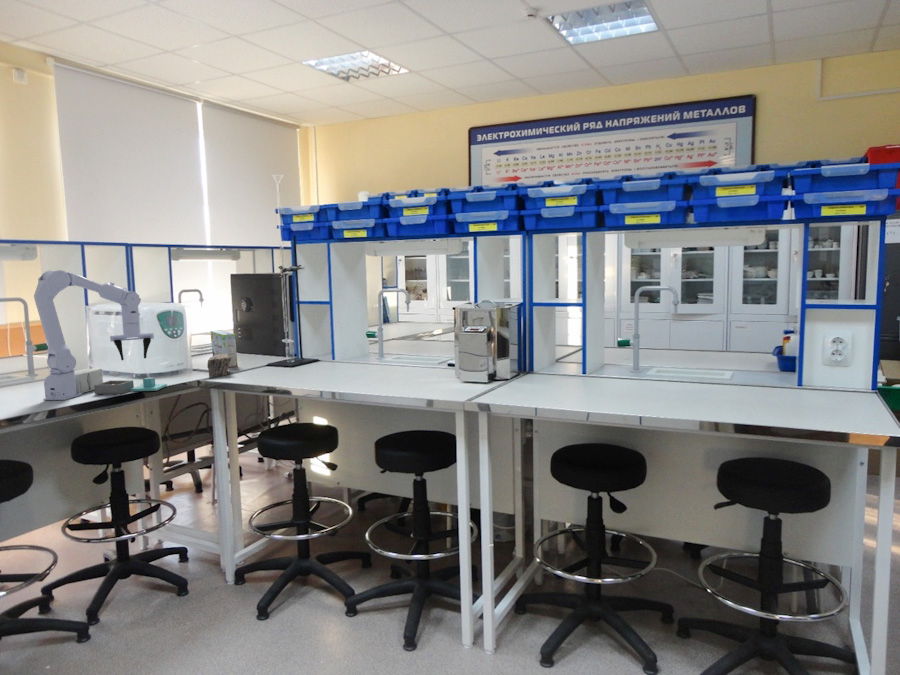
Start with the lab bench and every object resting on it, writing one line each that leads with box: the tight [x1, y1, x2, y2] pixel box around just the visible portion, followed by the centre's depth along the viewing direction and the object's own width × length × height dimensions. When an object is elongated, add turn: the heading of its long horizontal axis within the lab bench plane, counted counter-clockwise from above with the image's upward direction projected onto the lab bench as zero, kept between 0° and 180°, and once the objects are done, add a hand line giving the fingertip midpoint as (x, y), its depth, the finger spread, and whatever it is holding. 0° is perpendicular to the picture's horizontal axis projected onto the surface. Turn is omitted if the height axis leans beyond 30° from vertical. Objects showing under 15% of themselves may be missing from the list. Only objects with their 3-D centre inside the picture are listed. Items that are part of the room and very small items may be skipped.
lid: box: [130, 377, 168, 392], centre depth 233 cm, size 9×9×4 cm
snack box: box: [210, 329, 238, 368], centre depth 290 cm, size 21×6×15 cm, turn 37°
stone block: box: [206, 354, 231, 377], centre depth 265 cm, size 14×9×8 cm, turn 13°
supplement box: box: [74, 368, 104, 394], centre depth 232 cm, size 7×7×13 cm
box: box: [94, 379, 135, 395], centre depth 229 cm, size 9×9×4 cm
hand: (133, 359), depth 239 cm, fingers open, 7 cm apart
